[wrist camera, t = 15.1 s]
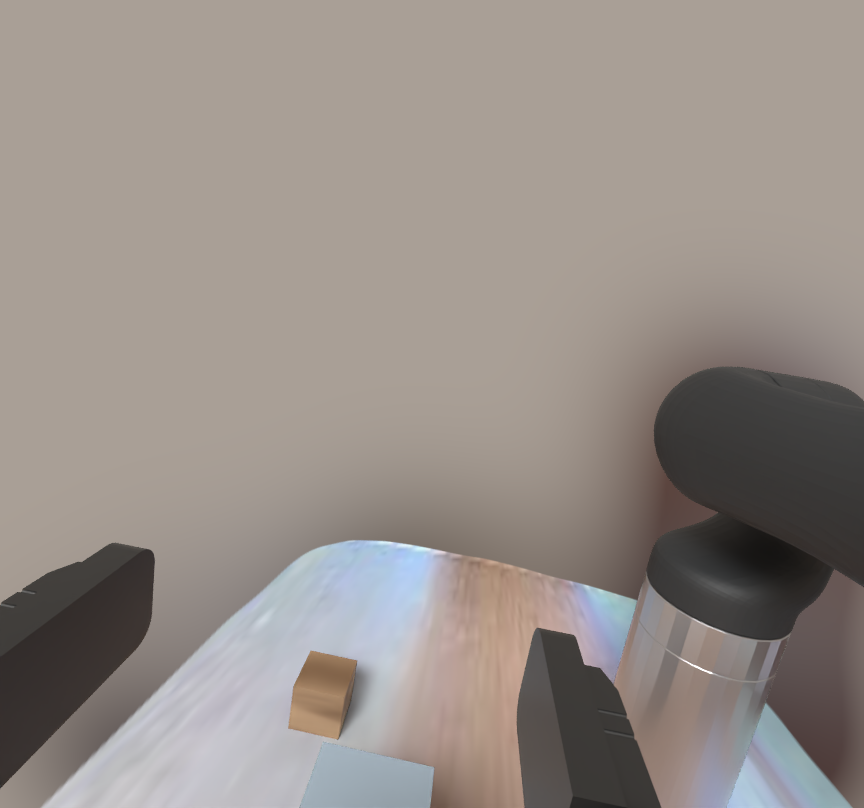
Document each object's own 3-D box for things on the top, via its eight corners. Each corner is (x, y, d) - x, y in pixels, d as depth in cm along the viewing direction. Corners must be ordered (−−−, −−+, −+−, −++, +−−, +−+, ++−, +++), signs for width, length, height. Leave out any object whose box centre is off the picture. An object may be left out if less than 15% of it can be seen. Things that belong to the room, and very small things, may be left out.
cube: (305, 690, 44) (310, 650, 43) (350, 700, 43) (357, 660, 43) (288, 729, 40) (293, 686, 39) (337, 740, 39) (344, 697, 39)
